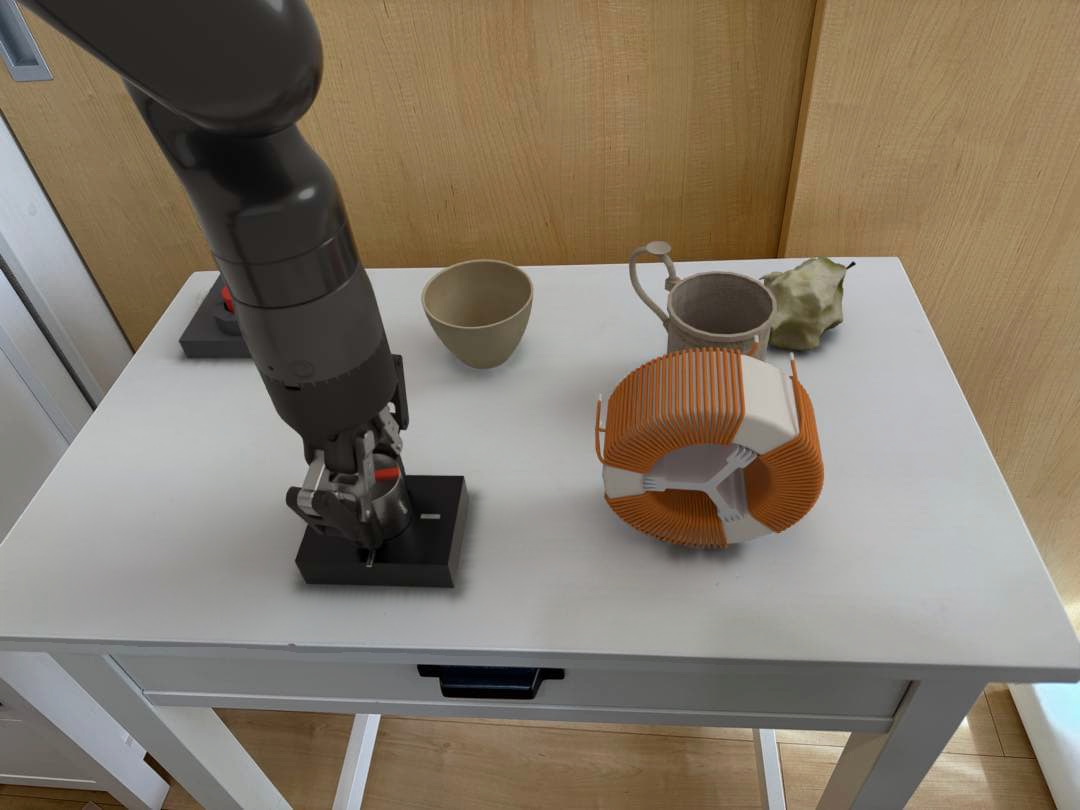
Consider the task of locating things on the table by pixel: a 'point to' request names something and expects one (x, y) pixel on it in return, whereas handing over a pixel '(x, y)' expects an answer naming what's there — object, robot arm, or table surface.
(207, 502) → the table surface
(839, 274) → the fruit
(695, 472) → the coil
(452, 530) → the timer panel
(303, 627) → the table surface
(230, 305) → the button
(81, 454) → the table surface
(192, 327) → the button block
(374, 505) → the timer knob
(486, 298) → the bowl
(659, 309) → the mug
